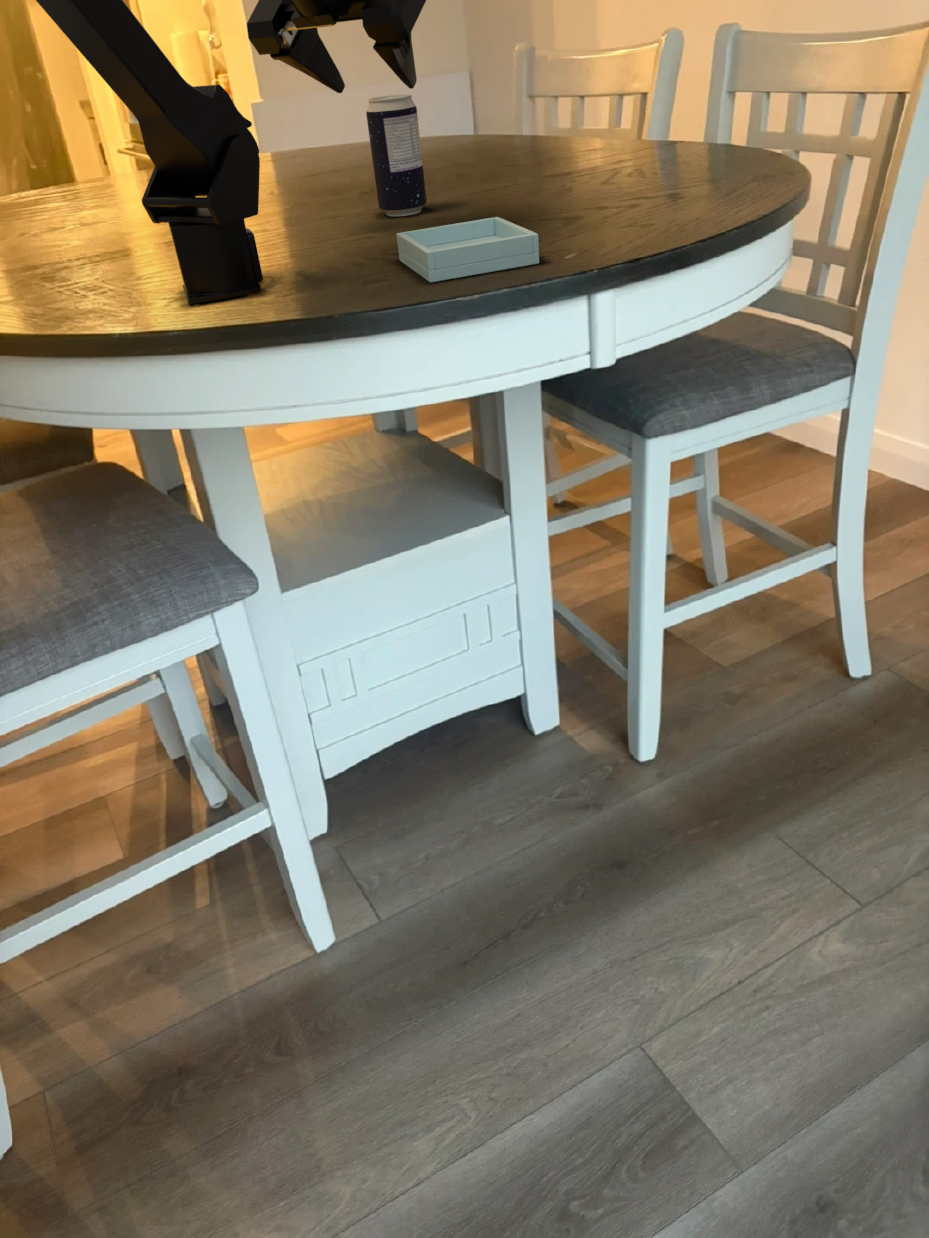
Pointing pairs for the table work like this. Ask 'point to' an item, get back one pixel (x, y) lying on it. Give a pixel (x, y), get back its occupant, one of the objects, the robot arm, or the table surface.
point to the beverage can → (396, 154)
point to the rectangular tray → (467, 248)
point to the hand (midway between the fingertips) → (377, 87)
